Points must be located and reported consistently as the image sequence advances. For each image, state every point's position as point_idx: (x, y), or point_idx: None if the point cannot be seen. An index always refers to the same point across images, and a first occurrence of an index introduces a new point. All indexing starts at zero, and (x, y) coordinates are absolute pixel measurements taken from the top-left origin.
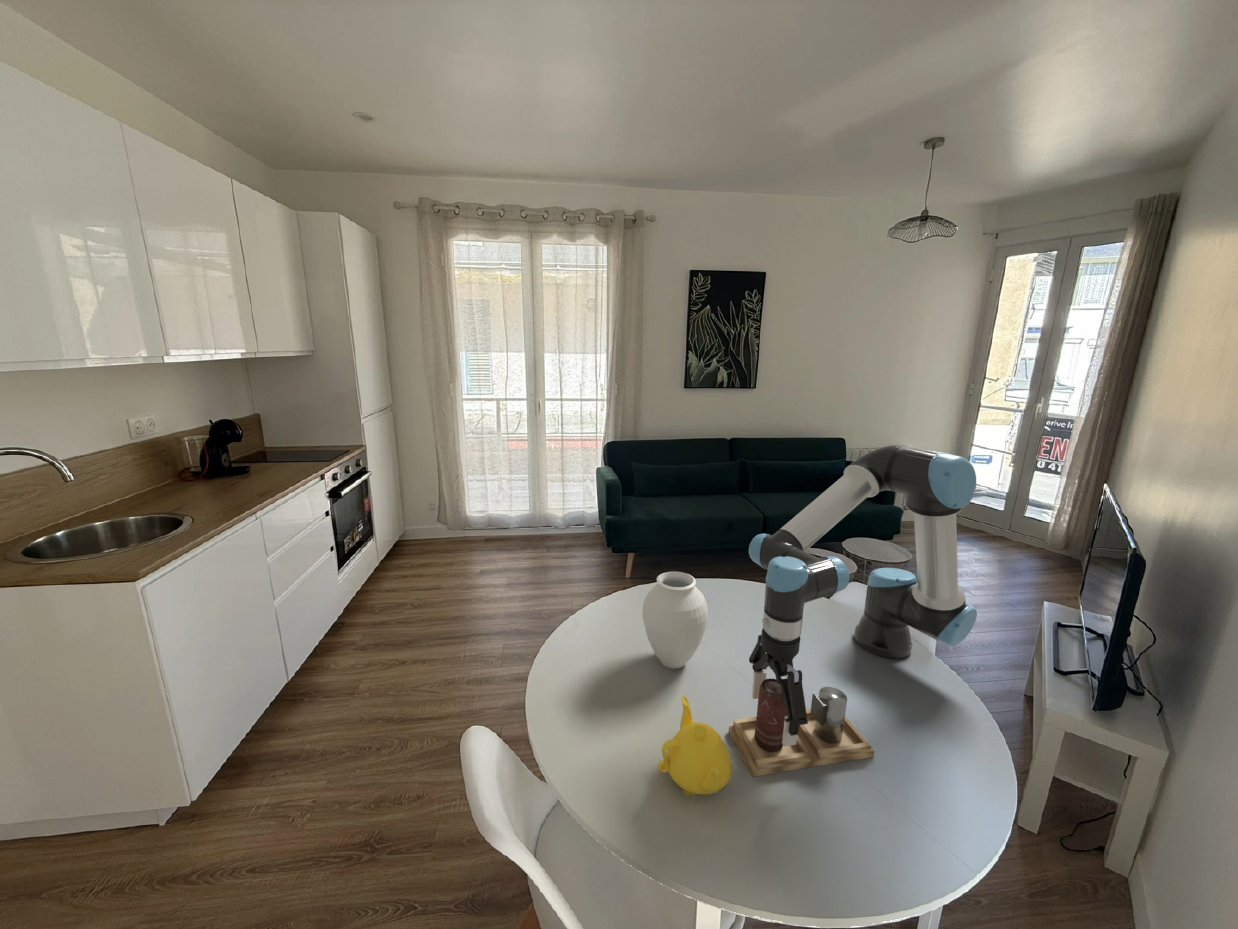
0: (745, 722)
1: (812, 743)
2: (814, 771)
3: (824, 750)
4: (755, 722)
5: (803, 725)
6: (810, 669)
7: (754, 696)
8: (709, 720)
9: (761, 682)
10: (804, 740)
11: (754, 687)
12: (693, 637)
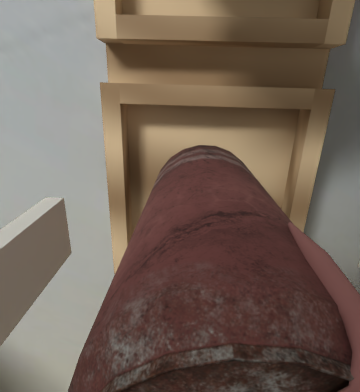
0: (127, 242)
1: (284, 42)
2: (328, 84)
3: (339, 9)
4: (126, 204)
5: (184, 19)
6: None
7: (63, 256)
8: (79, 287)
9: (2, 284)
10: (231, 52)
11: (33, 300)
12: None
